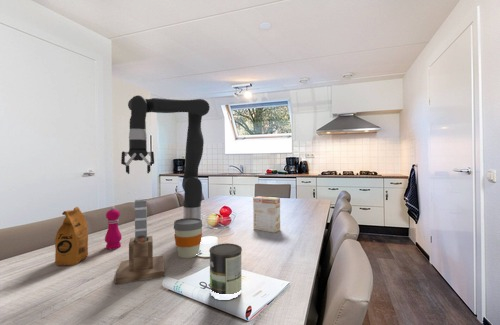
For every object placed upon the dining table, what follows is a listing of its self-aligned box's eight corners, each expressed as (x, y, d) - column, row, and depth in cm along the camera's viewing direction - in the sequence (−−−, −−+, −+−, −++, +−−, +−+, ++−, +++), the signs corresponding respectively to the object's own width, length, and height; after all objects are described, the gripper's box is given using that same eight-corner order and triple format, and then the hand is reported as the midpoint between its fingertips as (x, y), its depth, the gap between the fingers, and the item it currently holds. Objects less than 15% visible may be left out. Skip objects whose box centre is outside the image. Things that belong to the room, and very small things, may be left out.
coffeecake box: (280, 230, 153) (280, 197, 153) (275, 233, 147) (275, 199, 147) (259, 226, 161) (258, 195, 161) (253, 229, 155) (252, 197, 155)
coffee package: (50, 267, 102) (49, 212, 102) (68, 255, 115) (67, 206, 114) (76, 265, 103) (75, 211, 103) (92, 254, 116) (91, 205, 116)
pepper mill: (114, 250, 121) (114, 208, 121) (101, 249, 122) (100, 207, 122) (125, 245, 128) (124, 205, 128) (112, 244, 130) (111, 204, 129)
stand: (162, 260, 109) (162, 228, 108) (164, 276, 94) (164, 239, 94) (120, 266, 103) (120, 232, 103) (115, 284, 88) (114, 244, 88)
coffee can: (208, 302, 77) (208, 255, 76) (210, 285, 87) (210, 243, 87) (243, 300, 78) (242, 253, 77) (241, 283, 88) (241, 242, 88)
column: (147, 245, 101) (146, 199, 101) (146, 248, 97) (146, 200, 97) (135, 246, 99) (135, 199, 99) (135, 249, 96) (134, 201, 95)
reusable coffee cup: (207, 251, 119) (207, 218, 119) (193, 261, 107) (192, 225, 107) (184, 248, 123) (184, 217, 123) (168, 257, 111) (167, 223, 111)
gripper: (154, 140, 127) (154, 172, 127) (122, 139, 122) (122, 173, 122) (154, 138, 120) (154, 173, 120) (120, 138, 115) (120, 174, 115)
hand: (138, 173), depth 121 cm, fingers open, 8 cm apart
